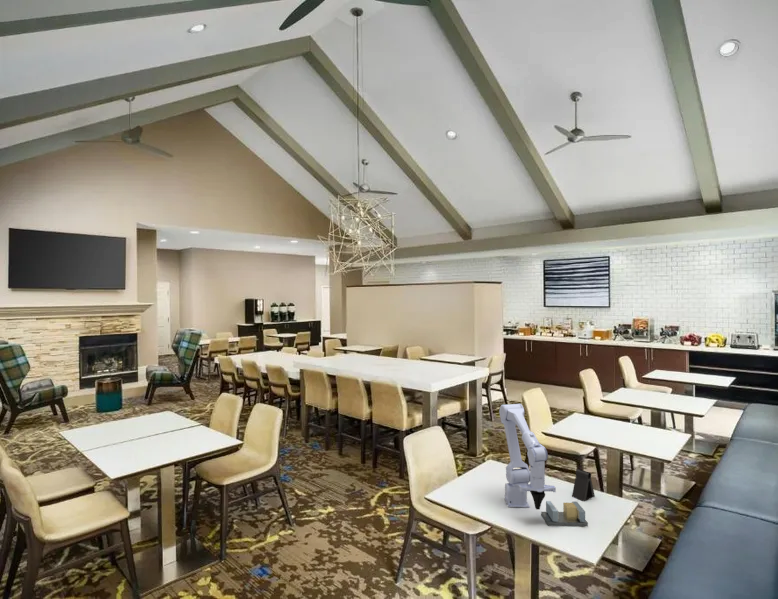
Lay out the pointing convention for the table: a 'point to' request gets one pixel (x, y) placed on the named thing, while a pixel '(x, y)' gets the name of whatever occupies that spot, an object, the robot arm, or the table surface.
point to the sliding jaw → (552, 511)
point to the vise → (563, 521)
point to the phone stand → (583, 486)
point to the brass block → (570, 511)
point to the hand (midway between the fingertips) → (537, 508)
